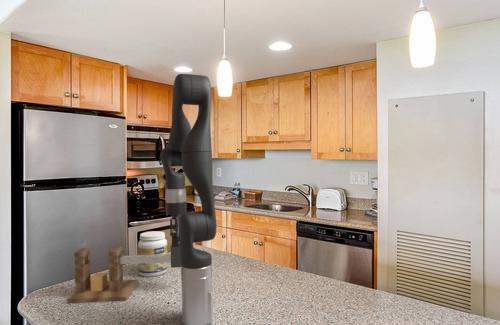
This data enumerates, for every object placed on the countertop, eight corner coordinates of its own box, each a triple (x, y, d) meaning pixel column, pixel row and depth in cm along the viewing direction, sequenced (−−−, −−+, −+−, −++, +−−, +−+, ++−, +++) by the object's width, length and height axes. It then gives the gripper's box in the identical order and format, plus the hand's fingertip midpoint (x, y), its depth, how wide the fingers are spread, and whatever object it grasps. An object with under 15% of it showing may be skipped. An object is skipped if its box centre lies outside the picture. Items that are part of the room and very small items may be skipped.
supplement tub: (157, 279, 137) (156, 237, 136) (132, 276, 141) (131, 235, 140) (173, 269, 148) (172, 231, 148) (149, 266, 152) (148, 229, 152)
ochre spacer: (107, 272, 126) (96, 272, 126) (101, 277, 121) (90, 277, 121) (107, 285, 127) (97, 285, 126) (102, 290, 122) (91, 291, 121)
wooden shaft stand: (138, 283, 132) (137, 243, 132) (126, 300, 116) (125, 255, 116) (86, 285, 131) (85, 244, 131) (67, 303, 115) (66, 257, 115)
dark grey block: (182, 264, 127) (182, 243, 127) (181, 267, 124) (181, 245, 124) (117, 266, 125) (116, 245, 125) (114, 269, 122) (113, 247, 122)
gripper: (183, 202, 118) (184, 248, 118) (188, 198, 132) (189, 239, 132) (162, 203, 118) (163, 249, 118) (169, 198, 132) (170, 239, 132)
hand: (177, 243), depth 125 cm, fingers open, 8 cm apart
